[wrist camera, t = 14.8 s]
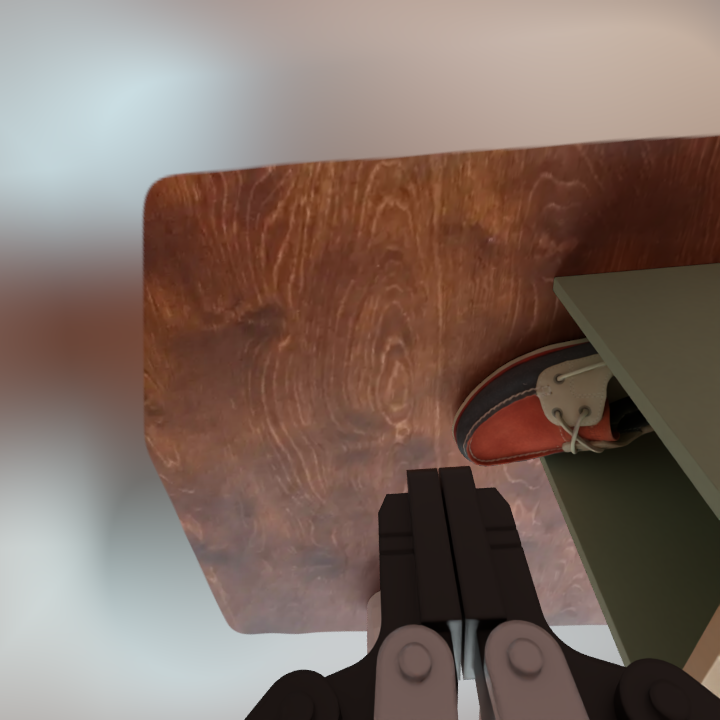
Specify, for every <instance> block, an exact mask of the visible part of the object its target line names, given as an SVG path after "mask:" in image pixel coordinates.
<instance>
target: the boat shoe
mask: <svg viewBox="0 0 720 720" xmlns="http://www.w3.org/2000/svg"><path fill="white" fill-rule="evenodd" d="M652 431H654V429H653V428H652V427H651V425H650V424H649V422H648V421H647V420H646V418H645V417H644V416H643V414H642V413H641V411H640V410H639V409H638V407H637V406H636V404H635V403H634V402H633V400H632V399H631V398H630V396H629V395H628V393H627V392H626V391H625V389H624V388H623V387H622V385H621V384H620V382H619V381H618V380H617V378H616V377H615V376H614V374H613V373H612V371H611V370H610V369H609V367H608V366H607V364H606V363H605V362H604V360H603V359H602V358H601V356H600V355H599V353H598V352H597V351H596V349H595V348H594V347H593V345H592V344H591V342H590V341H589V340H588V338H584V339H578V340H573V341H568V342H562V343H558V344H553V345H549V346H546V347H542V348H540V349H537V350H535V351H532V352H530V353H527V354H525V355H522V356H520V357H518V358H516V359H514V360H512V361H510V362H508V363H506V364H505V365H503V366H502V367H500V368H499V369H497V370H496V371H495V372H493V373H492V374H491V375H489V376H488V377H487V378H486V379H485V380H483V381H482V382H481V383H480V384H479V385H478V386H477V387H476V388H475V389H474V390H473V391H472V392H471V393H470V394H469V396H468V397H467V398H466V399H465V401H464V402H463V404H462V405H461V406H460V408H459V410H458V411H457V413H456V415H455V418H454V420H453V425H452V434H453V438H454V440H455V442H456V444H457V445H458V448H459V450H460V452H461V453H462V454H463V455H464V457H465V458H466V459H468V460H469V461H471V462H473V463H474V464H476V465H479V466H494V465H501V464H507V463H512V462H520V461H526V460H530V459H535V458H539V457H543V456H547V455H551V454H555V453H561V452H572V453H573V454H576V453H577V452H578V451H588V450H591V451H593V452H596V453H601V452H603V451H604V449H610V448H617V447H622V446H626V445H628V444H629V443H631V442H632V441H633V440H635V439H636V438H638V437H639V436H641V435H643V434H645V433H648V432H652Z"/></svg>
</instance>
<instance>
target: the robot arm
mask: <svg viewBox="0 0 720 720" xmlns="http://www.w3.org/2000/svg"><path fill="white" fill-rule="evenodd" d="M438 476H439V477H438ZM407 484H408V493H400V494H386V497H385V499H384V501H383V503H382V506H381V508H380V510H379V512H378V522H379V553H380V555H379V558H380V594H381V628H380V633H379V636H378V639H377V641H376V643H375V645H374V647H373V648H372V649H371V651H370V652H369V653H368V654H367V655H366V656H365V657H364V658H363V659H362V660H360V661H359V662H358V663H356V664H354V665H352V666H350V667H347V668H345V669H343V670H340V671H338V672H336V673H334V674H331V675H329V676H327V677H323V676H322V675H321V674H319V673H317V672H315V671H311V670H297V671H293V672H291V673H288V674H286V675H284V676H283V677H281V678H280V679H279V680H277V681H276V682H275V683H274V684H273V685H272V686H271V687H270V689H269V690H268V691H267V692H266V694H265V695H264V696H263V697H262V699H261V700H260V701H259V702H258V703H257V705H256V706H255V707H254V708H253V710H252V711H251V712H250V713H249V715H248V716H247V717H246V718H245V720H458V711H457V704H458V680H460V670H461V667H462V673H463V679H464V680H471V679H475V681H476V687H477V693H478V699H479V705H480V712H479V720H720V698H719V697H717V696H716V695H715V694H713V693H712V692H711V691H710V690H708V689H707V688H706V687H705V686H703V685H702V684H701V683H699V682H698V681H697V680H696V679H694V678H693V677H692V676H690V675H689V674H688V673H686V672H685V671H684V670H682V669H681V668H679V667H677V666H675V665H673V664H671V663H669V662H666V661H663V660H659V659H653V658H645V659H639V660H636V661H634V662H632V663H631V664H629V665H628V666H627V667H624V666H620V665H617V664H613V663H610V662H607V661H603V660H600V659H596V658H593V657H590V656H587V655H584V654H582V653H580V652H578V651H576V650H574V649H572V648H571V647H569V646H567V645H566V644H565V643H564V642H563V641H561V640H560V639H559V638H558V637H557V636H556V635H555V634H554V633H553V631H552V630H551V628H550V627H549V626H548V624H547V622H546V620H545V618H544V615H543V613H542V610H541V607H540V603H539V600H538V597H537V593H536V590H535V587H534V584H533V580H532V577H531V574H530V570H529V567H528V564H527V561H526V557H525V554H524V551H523V548H522V546H521V541H520V538H519V534H518V531H517V530H516V525H515V521H514V518H513V515H512V512H511V508H510V505H509V504H508V503H507V501H506V500H505V499H504V498H503V497H502V495H501V494H500V493H499V492H498V491H497V489H496V488H479V489H476V488H475V483H474V479H473V475H472V471H471V468H470V466H460V467H445V468H439V471H438V472H437V468H432V469H416V470H407Z"/></svg>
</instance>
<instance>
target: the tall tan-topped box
mask: <svg viewBox="0 0 720 720" xmlns="http://www.w3.org/2000/svg"><path fill="white" fill-rule="evenodd" d="M553 291H554V293H555V294H556V295H557V297H558V298H559V300H560V301H561V302H562V304H563V305H564V307H565V308H566V309H567V311H568V312H569V313H570V315H571V316H572V318H573V319H574V320H575V322H576V323H577V324H578V326H579V327H580V329H581V330H582V331H583V333H584V334H585V335H586V337H587V338H588V340H589V341H590V342H591V344H592V345H593V347H594V348H595V349H596V351H597V352H598V353H599V355H600V356H601V358H602V359H603V360H604V362H605V363H606V364H607V366H608V367H609V369H610V370H611V371H612V373H613V374H614V376H615V377H616V378H617V380H618V381H619V382H620V384H621V385H622V387H623V388H624V389H625V391H626V392H627V393H628V395H629V396H630V398H631V399H632V400H633V402H634V403H635V404H636V406H637V407H638V409H639V410H640V411H641V413H642V414H643V416H644V417H645V418H646V420H647V421H648V422H649V424H650V425H651V427H652V428H653V429H654V431H652V432H648V433H645V434H643V435H641V436H639V437H638V438H636V439H635V440H633V441H632V442H631V443H629V444H628V445H626V446H622V447H617V448H610V449H604V451H603V452H601V453H596V452H593V451H591V450H588V451H578V452H577V453H576V454H573V453H572V452H561V453H555V454H551V455H547V456H543V457H539V458H540V460H541V463H542V465H543V468H544V470H545V473H546V475H547V477H548V480H549V482H550V485H551V487H552V490H553V492H554V495H555V497H556V499H557V502H558V504H559V507H560V509H561V512H562V514H563V517H564V519H565V521H566V524H567V526H568V529H569V531H570V534H571V536H572V539H573V541H574V543H575V546H576V548H577V551H578V553H579V556H580V558H581V561H582V563H583V565H584V568H585V570H586V573H587V575H588V578H589V580H590V583H591V585H592V587H593V590H594V592H595V595H596V597H597V600H598V602H599V605H600V607H601V609H602V612H603V614H604V617H605V619H606V622H607V624H608V627H609V629H610V631H611V634H612V636H613V639H614V641H615V643H616V646H617V648H618V651H619V653H620V656H621V658H622V661H623V663H624V666H625V667H627V666H628V665H629V664H631V663H632V662H634V661H636V660H639V659H645V658H653V659H659V660H663V661H666V662H669V663H671V664H673V665H675V666H677V667H679V668H681V669H682V670H684V671H685V672H686V673H688V674H689V675H690V676H692V677H693V678H694V679H696V680H697V681H698V682H699V683H701V684H702V685H703V686H705V687H706V688H707V689H708V690H710V691H711V692H712V693H713V694H715V695H716V696H717V697H719V698H720V263H714V264H703V265H691V266H680V267H669V268H657V269H646V270H634V271H623V272H611V273H600V274H588V275H577V276H565V277H555V278H554V285H553Z"/></svg>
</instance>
